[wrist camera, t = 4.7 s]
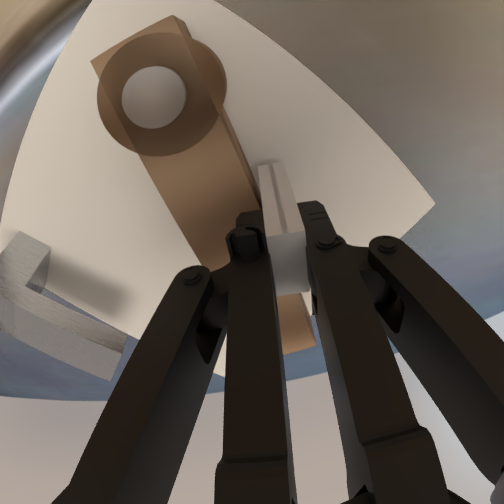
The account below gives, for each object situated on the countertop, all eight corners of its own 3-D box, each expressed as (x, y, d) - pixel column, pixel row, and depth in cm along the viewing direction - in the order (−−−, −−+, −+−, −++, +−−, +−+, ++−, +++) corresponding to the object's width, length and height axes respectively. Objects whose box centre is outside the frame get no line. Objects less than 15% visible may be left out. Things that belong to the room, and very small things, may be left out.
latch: (102, 65, 13) (67, 72, 10) (199, 15, 12) (187, 3, 9) (250, 331, 24) (252, 372, 21) (319, 311, 23) (329, 351, 20)
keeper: (29, 220, 20) (-22, 282, 14) (146, 275, 23) (122, 353, 17) (25, 257, 22) (-17, 319, 16) (131, 307, 25) (110, 381, 19)
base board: (134, -38, 11) (126, -45, 9) (425, 194, 20) (435, 203, 19) (4, 244, 21) (-5, 254, 20) (227, 365, 30) (227, 378, 29)
